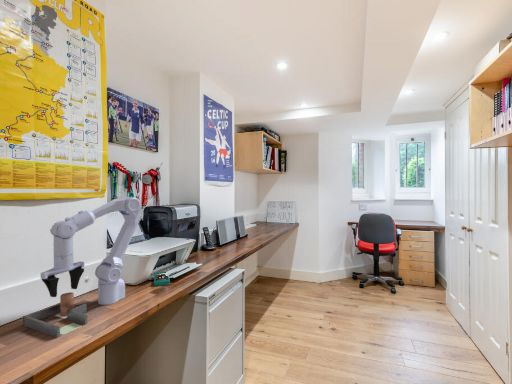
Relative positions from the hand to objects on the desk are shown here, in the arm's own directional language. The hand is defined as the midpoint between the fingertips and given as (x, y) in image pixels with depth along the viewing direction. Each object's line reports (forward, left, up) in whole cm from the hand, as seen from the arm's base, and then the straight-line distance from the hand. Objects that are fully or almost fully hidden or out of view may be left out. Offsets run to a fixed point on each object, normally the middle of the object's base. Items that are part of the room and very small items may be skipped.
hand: (64, 292), depth 98 cm
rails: (+2, +4, -8) cm, 10 cm away
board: (+2, +5, -9) cm, 11 cm away
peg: (-1, 0, -8) cm, 8 cm away
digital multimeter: (-45, +3, -10) cm, 47 cm away
